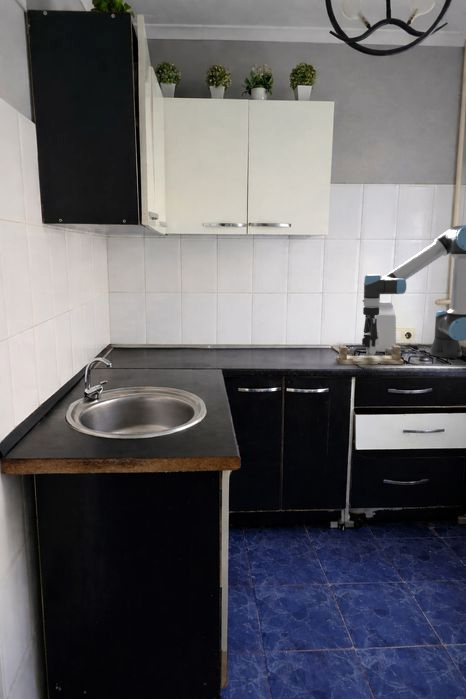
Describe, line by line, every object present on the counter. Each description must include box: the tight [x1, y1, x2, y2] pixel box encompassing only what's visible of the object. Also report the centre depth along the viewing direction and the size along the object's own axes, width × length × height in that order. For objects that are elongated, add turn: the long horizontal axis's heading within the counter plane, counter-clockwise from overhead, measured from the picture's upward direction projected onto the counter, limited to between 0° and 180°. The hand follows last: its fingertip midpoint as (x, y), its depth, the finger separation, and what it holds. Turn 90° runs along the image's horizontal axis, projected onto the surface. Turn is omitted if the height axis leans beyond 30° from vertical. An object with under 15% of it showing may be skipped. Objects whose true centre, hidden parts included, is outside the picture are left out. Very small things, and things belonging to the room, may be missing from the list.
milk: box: [375, 301, 397, 353], centre depth 278 cm, size 12×12×26 cm
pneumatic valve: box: [361, 332, 378, 356], centre depth 252 cm, size 6×12×12 cm, turn 150°
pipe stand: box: [336, 344, 404, 365], centre depth 253 cm, size 30×12×8 cm, turn 87°
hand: (369, 350), depth 252 cm, fingers closed on pneumatic valve, 12 cm apart
